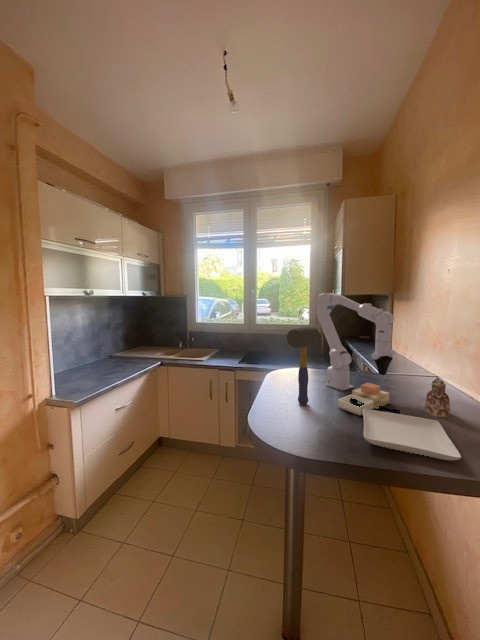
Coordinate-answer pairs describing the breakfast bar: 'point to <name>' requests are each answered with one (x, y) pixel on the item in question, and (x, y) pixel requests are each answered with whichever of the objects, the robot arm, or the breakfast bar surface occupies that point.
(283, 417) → the breakfast bar surface
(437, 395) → the figurine
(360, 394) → the beige bevelled block
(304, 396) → the rubber mallet
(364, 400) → the tray
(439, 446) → the salad plate
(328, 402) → the breakfast bar surface
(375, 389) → the terracotta-coloured block
